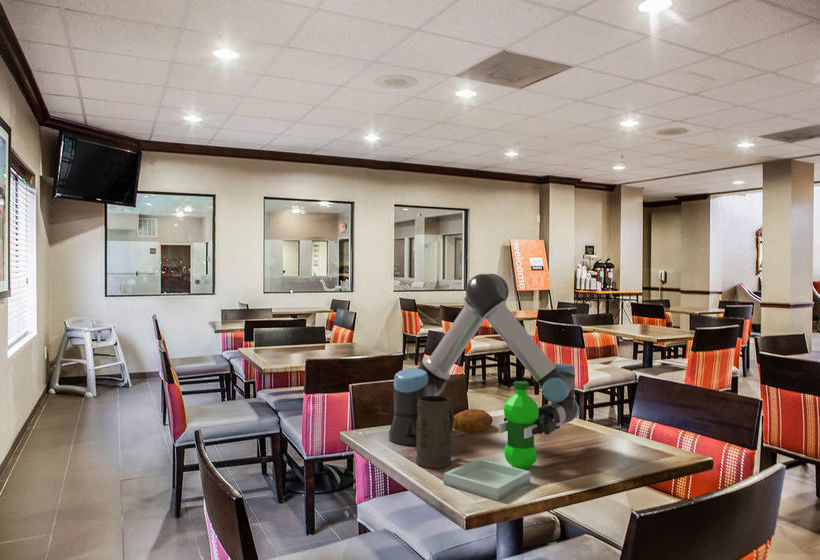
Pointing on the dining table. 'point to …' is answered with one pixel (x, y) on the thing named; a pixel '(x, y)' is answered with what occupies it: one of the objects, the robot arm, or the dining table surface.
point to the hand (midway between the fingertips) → (512, 430)
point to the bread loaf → (472, 420)
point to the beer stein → (434, 431)
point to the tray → (487, 478)
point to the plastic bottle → (520, 427)
